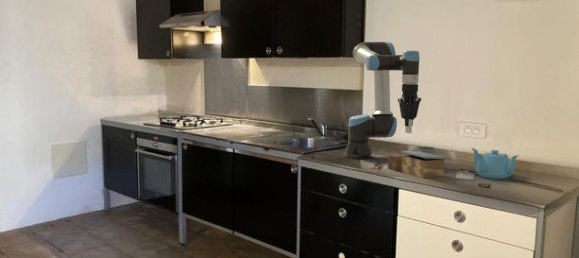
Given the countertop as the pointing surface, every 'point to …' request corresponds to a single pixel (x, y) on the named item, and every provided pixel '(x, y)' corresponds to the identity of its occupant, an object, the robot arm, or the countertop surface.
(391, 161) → the block
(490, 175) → the teapot
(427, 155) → the lid
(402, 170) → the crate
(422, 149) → the cup
